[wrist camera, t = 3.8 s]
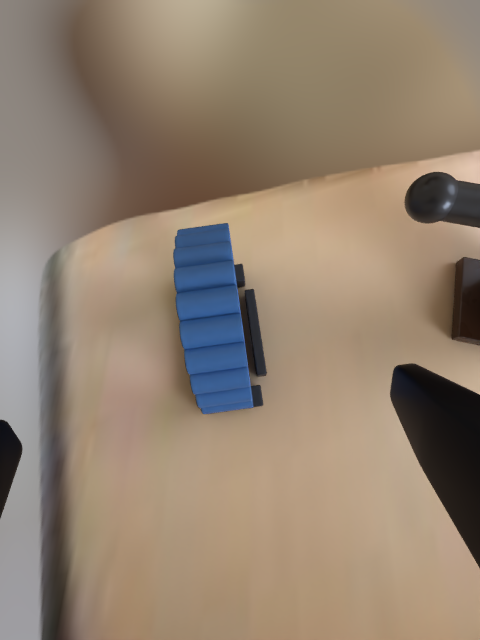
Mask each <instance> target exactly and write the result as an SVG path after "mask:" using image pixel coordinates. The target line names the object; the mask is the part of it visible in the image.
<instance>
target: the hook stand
mask: <svg viewBox="0 0 480 640" xmlns="http://www.w3.org/2000/svg"><path fill="white" fill-rule="evenodd" d="M405 209H406V211H407V213H408V215H409V216H410V217H411V218H412V219H414V220H415V221H417V222H420V223H435V222H438V221H443V222H449V223H455V224H460V225H466V226H472V227H478V228H480V184H476V183H470V182H464V181H457V180H456V179H455V178H454V177H452V176H451V175H449V174H447V173H443V172H432V173H428V174H425V175H423V176H421V177H419V178H418V179H417V180H415V181H414V182H413V183H412V185H411V186H410V187H409V189H408V191H407V193H406V196H405ZM452 339H453V340H457V341H462V342H467V343H472V344H477V345H480V260H477V259H472V258H467V257H463V258H461V259H460V260H459V261H457V263H456V279H455V295H454V311H453V328H452Z"/></svg>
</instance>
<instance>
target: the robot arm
mask: <svg viewBox="0 0 480 640" xmlns="http://www.w3.org/2000/svg"><path fill="white" fill-rule="evenodd" d="M390 397H391V401H392V404H393V406H394V408H395V411H396V413H397V415H398V417H399V419H400V422H401V424H402V426H403V428H404V431H405V433H406V435H407V437H408V440H409V442H410V444H411V446H412V449H413V451H414V453H415V455H416V457H417V459H418V461H419V463H420V465H421V467H422V469H423V471H424V473H425V474H426V476H427V478H428V480H429V481H430V483H431V485H432V487H433V488H434V490H435V492H436V493H437V495H438V497H439V499H440V500H441V502H442V504H443V506H444V507H445V509H446V511H447V512H448V514H449V516H450V518H451V519H452V521H453V523H454V525H455V526H456V528H457V530H458V531H459V533H460V535H461V537H462V538H463V540H464V542H465V544H466V545H467V547H468V549H469V550H470V552H471V554H472V556H473V557H474V559H475V561H476V563H477V564H478V566H479V568H480V395H479V394H477V393H475V392H473V391H471V390H469V389H467V388H465V387H462V386H460V385H458V384H456V383H454V382H452V381H450V380H448V379H446V378H444V377H442V376H440V375H438V374H435V373H433V372H431V371H429V370H427V369H425V368H423V367H421V366H419V365H417V364H413V363H411V364H403V365H397V366H396V367H395V368H394V370H393V376H392V383H391V390H390ZM21 455H22V444H21V442H20V440H19V439H18V437H17V436H16V434H15V433H14V431H13V430H12V428H11V427H10V425H9V424H8V422H6V421H4V420H0V518H1V515H2V512H3V509H4V506H5V503H6V500H7V497H8V494H9V491H10V488H11V485H12V482H13V478H14V476H15V473H16V470H17V467H18V464H19V461H20V458H21Z"/></svg>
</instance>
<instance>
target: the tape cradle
mask: <svg viewBox="0 0 480 640" xmlns="http://www.w3.org/2000/svg"><path fill="white" fill-rule="evenodd" d="M234 267H235V275H236V282H237V287H244V286H245V277H244V271H243V265H242V264H238V265H234ZM245 298H246V305H247V312H248V319H249V326H250V333H251V339H252V346H253V353H254V360H255V367H256V374H257V377H260V376H266V374H267V372H266V365H265V359H264V352H263V346H262V339H261V333H260V326H259V320H258V313H257V307H256V300H255V294H254V289H250V290H245ZM251 392H252V400H253V407H257V406H262V405H263V400H262V393H261V386H260V385H256V386H251Z"/></svg>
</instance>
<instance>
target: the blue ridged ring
mask: <svg viewBox="0 0 480 640" xmlns="http://www.w3.org/2000/svg"><path fill="white" fill-rule="evenodd" d="M173 257H174V264H175V269H174V283H175V288H176V292H177V294H176V308H177V314H178V317H179V320H180V326H179V329H180V338H181V343H182V346H183V348H184V357H185V365H186V369H187V372H188V374H190V383H191V389H192V392H193V394H195V396H196V402H197V405H198V407H199V408H201V411H202V413H203V414H210V413H217V412H225V411H232V410H239V409H246V408H253V400H252V392H251V384H250V377H249V370H248V362H247V355H246V347H245V340H244V333H243V325H242V318H241V311H240V304H239V296H238V289H237V282H236V275H235V267H234V261H233V253H232V246H231V239H230V232H229V226H228V223H224V224H216V225H209V226H202V227H195V228H187V229H180V230H178V231H177V236H176V237H175V249H174V252H173Z"/></svg>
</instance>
